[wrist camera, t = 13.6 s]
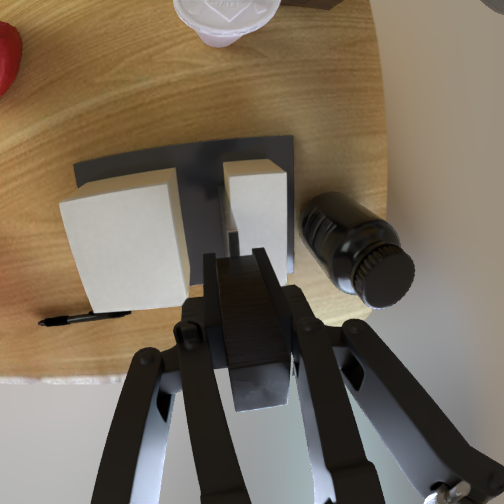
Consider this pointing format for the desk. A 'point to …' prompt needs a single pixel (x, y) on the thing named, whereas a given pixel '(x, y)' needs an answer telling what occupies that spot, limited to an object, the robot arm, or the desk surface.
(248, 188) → the cream rectangular block
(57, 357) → the desk surface
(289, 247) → the cake board
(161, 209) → the cake
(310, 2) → the knife block
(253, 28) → the smoothie
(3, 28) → the pomegranate
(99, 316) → the pen
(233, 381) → the knife
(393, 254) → the supplement bottle
